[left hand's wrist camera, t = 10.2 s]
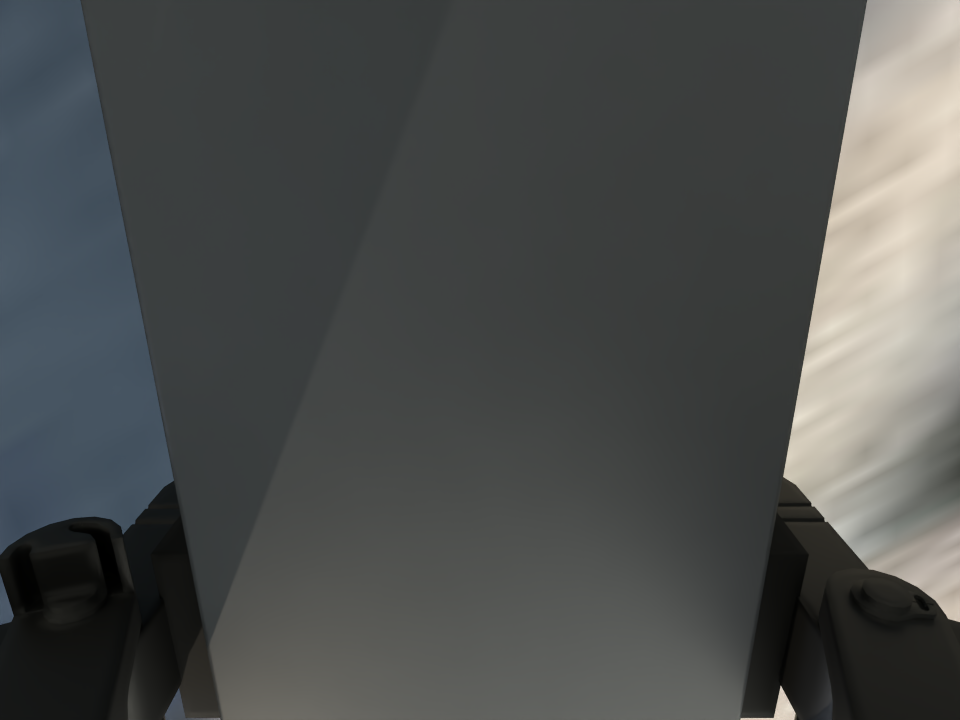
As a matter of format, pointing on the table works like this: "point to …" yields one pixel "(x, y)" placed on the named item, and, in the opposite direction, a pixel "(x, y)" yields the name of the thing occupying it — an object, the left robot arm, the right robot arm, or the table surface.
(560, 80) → the bar
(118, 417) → the table surface
